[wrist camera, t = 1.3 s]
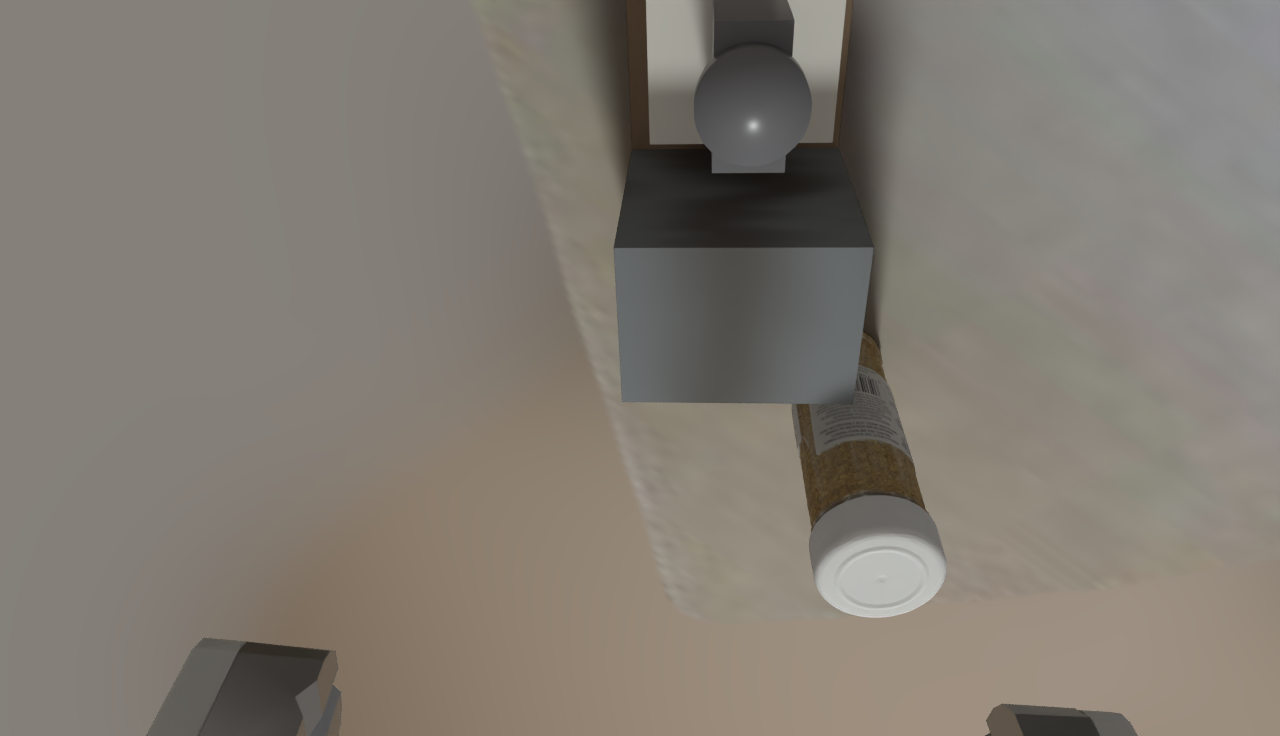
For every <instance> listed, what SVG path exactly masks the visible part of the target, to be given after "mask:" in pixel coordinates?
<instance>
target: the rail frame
mask: <svg viewBox="0 0 1280 736" xmlns="http://www.w3.org/2000/svg"><path fill="white" fill-rule="evenodd" d="M852 7H853V0H846V9H845V19H844V29H843V40H842V50H841V60H840V71H839V81H838V92H837V102H836V112H835V123H834V133H833V143H798V144H797V145H796V146H795V147H794V148H793V149H792V150H791V151H790V152H789V153H788V154H786V160H785V173H712V157H711V151H710V150H709V149H708V148H707V147H706V146H705V144H650V134H649V96H648V59H647V21H646V0H626V9H627V35H628V61H629V87H630V112H631V138H632V152H631V157H630V163H629V168H628V174H627V179H626V184H625V190H624V195H623V200H622V206H621V211H620V217H619V222H618V227H617V233H616V238H615V244H614V263H615V281H616V300H617V318H618V336H619V354H620V373H621V391H622V402H681V403H781V404H853V400H854V393H855V386H856V378H857V371H858V363H859V356H860V348H861V341H862V333H863V326H864V318H865V311H866V303H867V296H868V288H869V281H870V273H871V266H872V258H873V251H874V246H873V243H872V241H871V238H870V235H869V232H868V229H867V227H866V224H865V221H864V218H863V215H862V212H861V210H860V207H859V204H858V201H857V198H856V196H855V193H854V190H853V187H852V184H851V182H850V179H849V176H848V173H847V170H846V168H845V165H844V162H843V159H842V156H841V154H840V151H839V148H838V147H839V137H840V127H841V117H842V107H843V97H844V87H845V77H846V67H847V57H848V47H849V37H850V27H851V17H852Z"/></svg>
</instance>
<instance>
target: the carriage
mask: <svg viewBox="0 0 1280 736" xmlns="http://www.w3.org/2000/svg"><path fill="white" fill-rule="evenodd" d="M845 9H846V0H646V21H647V59H648V96H649V134H650V144H705V146H706V147H707V148H708V149H709V150H710V151H711V157H712V173H785V160H786V154H788V153H789V152H790V151H791V150H792V149H793V148H794V147H795V146H796V145H797V144H798V143H833V133H834V123H835V112H836V102H837V92H838V81H839V71H840V60H841V50H842V40H843V29H844V19H845Z"/></svg>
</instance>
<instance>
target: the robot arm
mask: <svg viewBox="0 0 1280 736" xmlns="http://www.w3.org/2000/svg"><path fill="white" fill-rule="evenodd" d="M337 671H338V662H337V657H336V651H334V650H324V649H314V648H304V647H294V646H284V645H274V644H265V643H254V642H248V641H236V640H225V639H212V638H203V639H202V640H201V641H200V642H199V643H198V644H197V645H196V646H195V647H194V648H193V649H192V650H191V652H190V654H189V656H188V658H187V660H186V662H185V664H184V665H183V667H182V669H181V671H180V673H179V675H178V677H177V678H176V681H175V682H174V684H173V686H172V688H171V690H170V692H169V693H168V696H167V697H166V699H165V701H164V703H163V705H162V707H161V709H160V711H159V712H158V714H157V716H156V718H155V720H154V722H153V724H152V726H151V727H150V729H149V731H148V733H147V735H146V736H339V731H340V726H341V715H342V699H341V692H340V691H339V690H338V689H337V688H336V687H335V686H334V685H333V683H334V680H335V677H336V674H337ZM986 722H987V724H988V727H989V730H990V733H989V734H987V735H985V736H1137V734H1136V732H1135V730H1134V728H1133V726H1132V725H1131V723H1130V722H1129V721H1128V720H1127V719H1126V718H1125V717H1124V716H1123V715H1122V714H1119V713H1113V712H1100V711H1083V710H1076V709H1075V708H1060V707H1045V706H1029V705H1014V704H1001V705H999V706H997V707H995V708H993V710H992V711H991V713H990V715H989V717H988V718H987V720H986Z"/></svg>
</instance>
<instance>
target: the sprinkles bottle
mask: <svg viewBox="0 0 1280 736" xmlns="http://www.w3.org/2000/svg"><path fill="white" fill-rule="evenodd" d="M792 417H793V424H794V431H795V437H796V443H797V449H798V454H799V458H800V460H801V465H802V472H803V479H804V484H805V491H806V498H807V506H808V510H809V515H810V522H811V526H812V528H811V535H810V539H809V552H810V558H811V565H812V570H813V575H814V580H815V584H816V586H817V588H818V590H819V592H820V594H821V595H822V596H823V598H824V599H825V600H826V601H827V602H828V603H830V604H831V605H832V606H834V607H836V608H837V609H839V610H841V611H843V612H846V613H848V614H852V615H856V616H861V617H873V618H876V617H877V618H879V617H890V616H895V615H899V614H903V613H906V612H909V611H911V610H913V609H916V608H917V607H919V606H921V605H923V604H924V603H926V602H927V601H928V600H930V599H931V598H932V597H933V596H934V595H935V594H936V593H937V592H938V590H939V589H940V587H941V586H942V584H943V581H944V579H945V576H946V569H947V566H946V558H945V554H944V551H943V547H942V544H941V540H940V537H939V534H938V530H937V527H936V525H935V522H934V521H933V519H932V518H931V516H930V515H929V513H928V512H927V511H926V509H925V505H924V502H923V499H922V495H921V492H920V489H919V485H918V482H917V478H916V472H915V467H914V463H913V460H912V457H911V453H910V450H909V447H908V444H907V440H906V437H905V434H904V431H903V428H902V425H901V421H900V418H899V415H898V412H897V408H896V405H895V402H894V398H893V395H892V392H891V389H890V387H889V385H888V384H887V381H886V379H885V375H884V371H883V368H882V357H881V352H880V350H879V348H878V346H877V344H876V343H875V341H874V340H873V339H872V338H871V337H870V336H869V335H867V334H866V333H865V332H863V333H862V341H861V348H860V356H859V363H858V371H857V378H856V386H855V393H854V400H853V404H792Z"/></svg>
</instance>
